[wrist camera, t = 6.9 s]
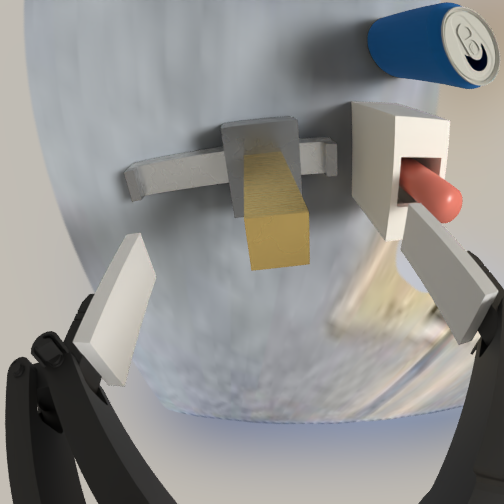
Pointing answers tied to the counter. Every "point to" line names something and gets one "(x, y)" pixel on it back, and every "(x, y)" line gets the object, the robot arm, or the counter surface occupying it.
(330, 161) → the rail
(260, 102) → the counter surface
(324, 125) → the counter surface
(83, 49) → the counter surface
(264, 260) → the carriage
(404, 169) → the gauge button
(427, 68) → the beverage can
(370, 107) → the end cabinet
